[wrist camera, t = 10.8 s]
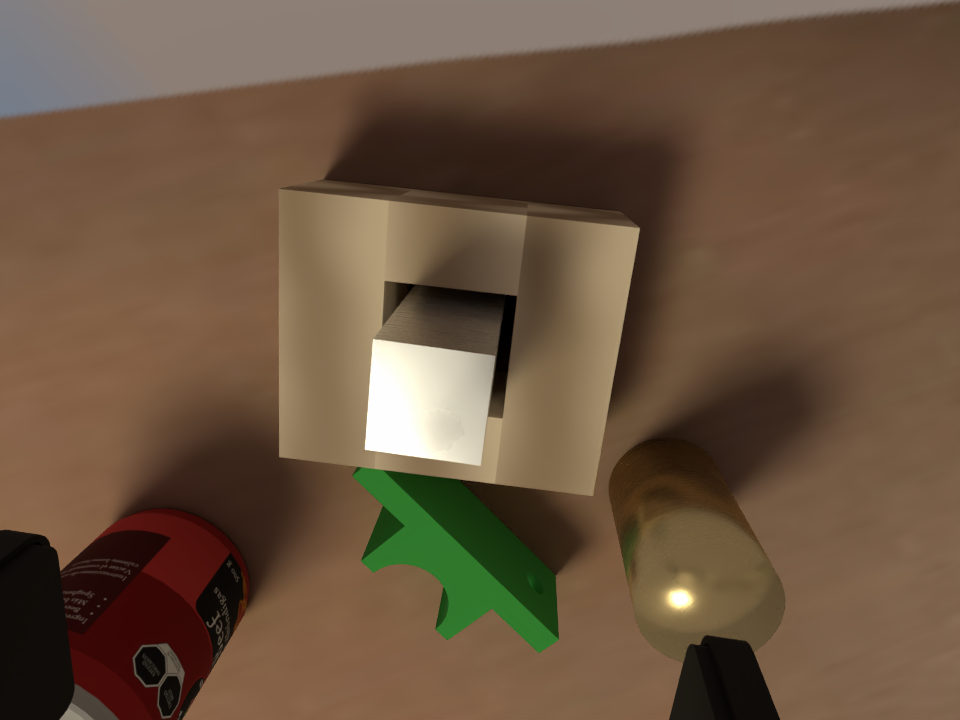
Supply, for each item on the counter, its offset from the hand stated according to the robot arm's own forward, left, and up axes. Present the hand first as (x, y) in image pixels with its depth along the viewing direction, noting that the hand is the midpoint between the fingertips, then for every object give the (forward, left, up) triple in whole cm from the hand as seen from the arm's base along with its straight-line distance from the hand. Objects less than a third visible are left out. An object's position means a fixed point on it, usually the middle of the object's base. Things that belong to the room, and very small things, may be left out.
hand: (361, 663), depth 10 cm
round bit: (-9, +7, -20) cm, 23 cm away
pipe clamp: (0, +10, -20) cm, 22 cm away
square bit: (0, 0, -20) cm, 20 cm away
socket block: (+1, 0, -20) cm, 20 cm away
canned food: (+14, +15, -20) cm, 28 cm away
